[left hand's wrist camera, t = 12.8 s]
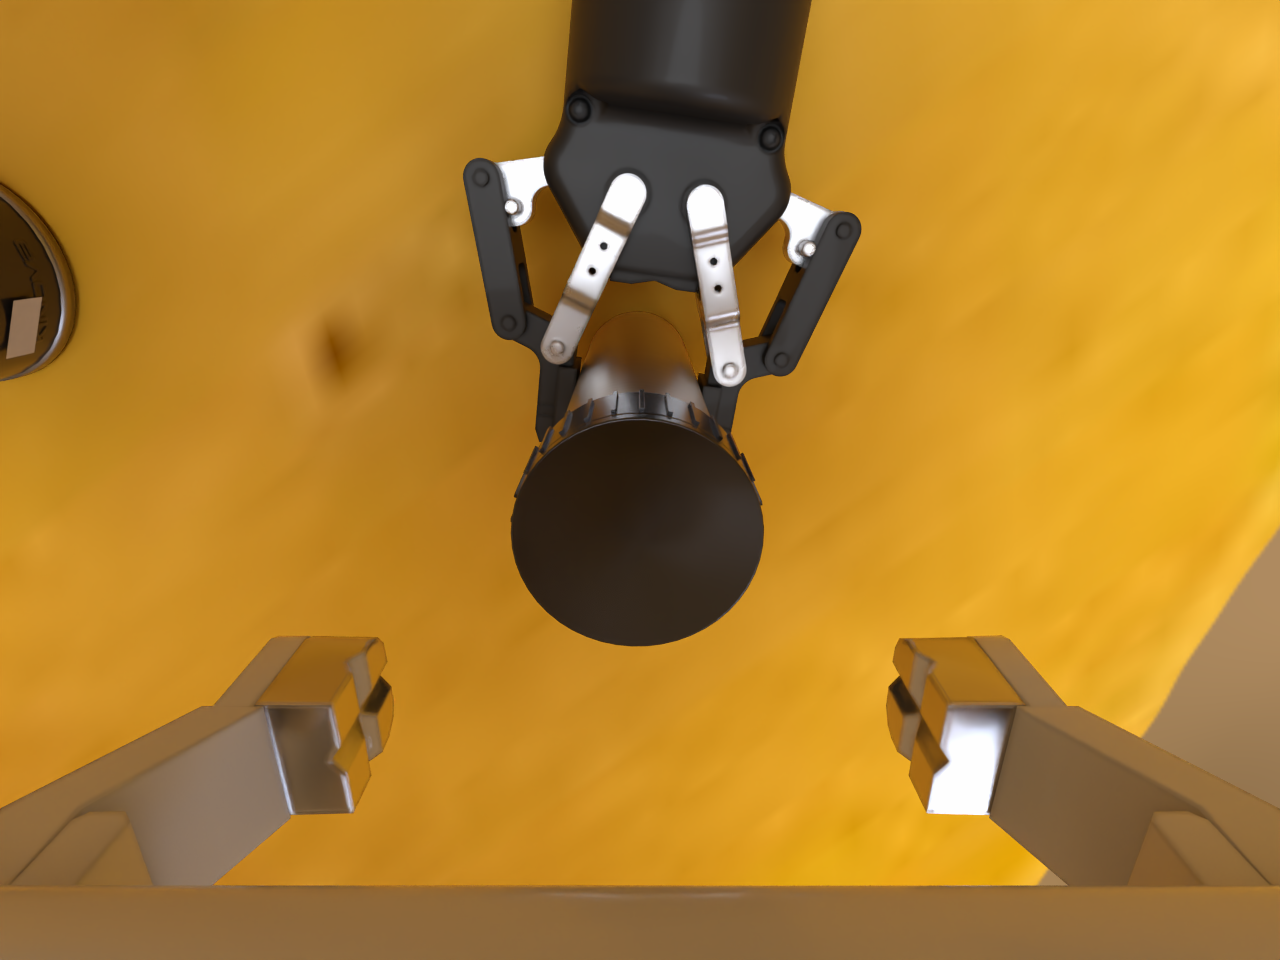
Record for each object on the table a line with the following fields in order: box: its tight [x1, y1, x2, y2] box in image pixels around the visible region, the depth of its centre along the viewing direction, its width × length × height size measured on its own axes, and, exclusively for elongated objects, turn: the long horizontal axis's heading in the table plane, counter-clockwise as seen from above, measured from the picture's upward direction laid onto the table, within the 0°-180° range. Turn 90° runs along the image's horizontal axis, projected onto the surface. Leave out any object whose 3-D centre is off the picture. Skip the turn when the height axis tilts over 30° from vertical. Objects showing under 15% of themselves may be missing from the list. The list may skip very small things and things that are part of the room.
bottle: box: [567, 311, 710, 416], centre depth 24 cm, size 5×5×19 cm
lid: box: [511, 389, 764, 646], centre depth 16 cm, size 6×6×2 cm
